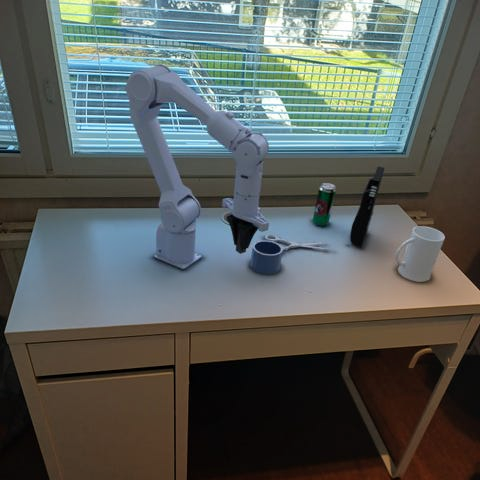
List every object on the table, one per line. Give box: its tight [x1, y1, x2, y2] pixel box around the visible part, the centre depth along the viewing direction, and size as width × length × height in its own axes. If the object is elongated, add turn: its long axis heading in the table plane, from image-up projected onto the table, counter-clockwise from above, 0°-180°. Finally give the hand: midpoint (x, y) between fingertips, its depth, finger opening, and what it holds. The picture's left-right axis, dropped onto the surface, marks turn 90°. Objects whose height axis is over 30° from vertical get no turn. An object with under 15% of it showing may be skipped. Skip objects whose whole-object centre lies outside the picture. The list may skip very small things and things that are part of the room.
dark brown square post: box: [235, 228, 247, 255], centre depth 111 cm, size 2×2×6 cm
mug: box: [395, 225, 446, 283], centre depth 123 cm, size 12×8×12 cm
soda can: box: [312, 182, 337, 227], centre depth 142 cm, size 5×5×12 cm
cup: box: [250, 240, 284, 275], centre depth 121 cm, size 8×8×6 cm
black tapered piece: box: [349, 166, 385, 248], centre depth 134 cm, size 12×5×20 cm, turn 160°
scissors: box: [264, 234, 332, 252], centre depth 132 cm, size 11×1×20 cm
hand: (241, 246), depth 112 cm, fingers closed on dark brown square post, 2 cm apart
